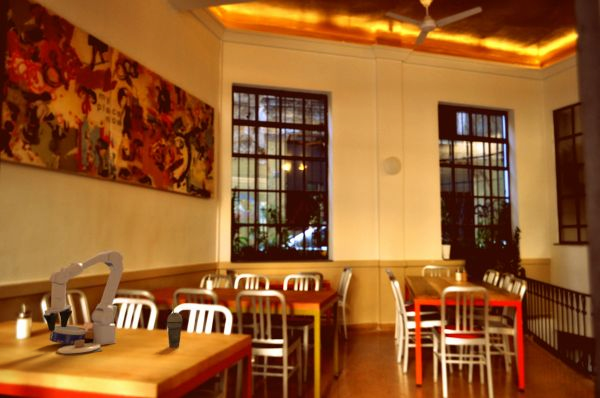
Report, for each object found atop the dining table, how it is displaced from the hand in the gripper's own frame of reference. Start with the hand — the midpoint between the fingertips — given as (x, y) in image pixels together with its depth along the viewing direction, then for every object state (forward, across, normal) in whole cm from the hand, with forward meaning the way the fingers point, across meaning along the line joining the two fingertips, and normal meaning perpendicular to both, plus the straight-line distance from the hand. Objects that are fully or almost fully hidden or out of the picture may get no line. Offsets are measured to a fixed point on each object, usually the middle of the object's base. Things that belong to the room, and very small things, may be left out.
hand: (57, 328), depth 202 cm
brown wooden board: (+9, -27, -1) cm, 29 cm away
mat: (+10, -2, +10) cm, 14 cm away
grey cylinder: (+7, -29, +2) cm, 30 cm away
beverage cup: (+11, -18, +47) cm, 51 cm away
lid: (+9, -2, +10) cm, 13 cm away
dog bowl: (+8, -11, -4) cm, 14 cm away
